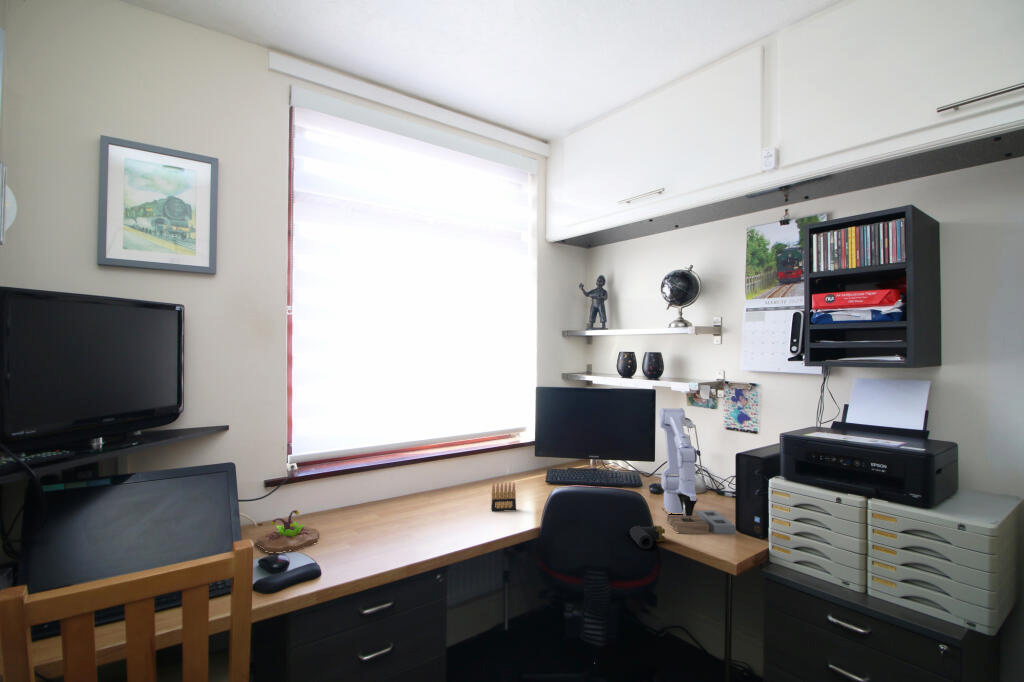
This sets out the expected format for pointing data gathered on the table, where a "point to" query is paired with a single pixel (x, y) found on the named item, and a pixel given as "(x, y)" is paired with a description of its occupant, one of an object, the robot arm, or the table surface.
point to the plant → (288, 536)
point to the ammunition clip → (503, 498)
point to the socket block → (688, 524)
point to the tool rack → (717, 522)
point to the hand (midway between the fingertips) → (687, 514)
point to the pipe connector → (647, 535)
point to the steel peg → (686, 518)
